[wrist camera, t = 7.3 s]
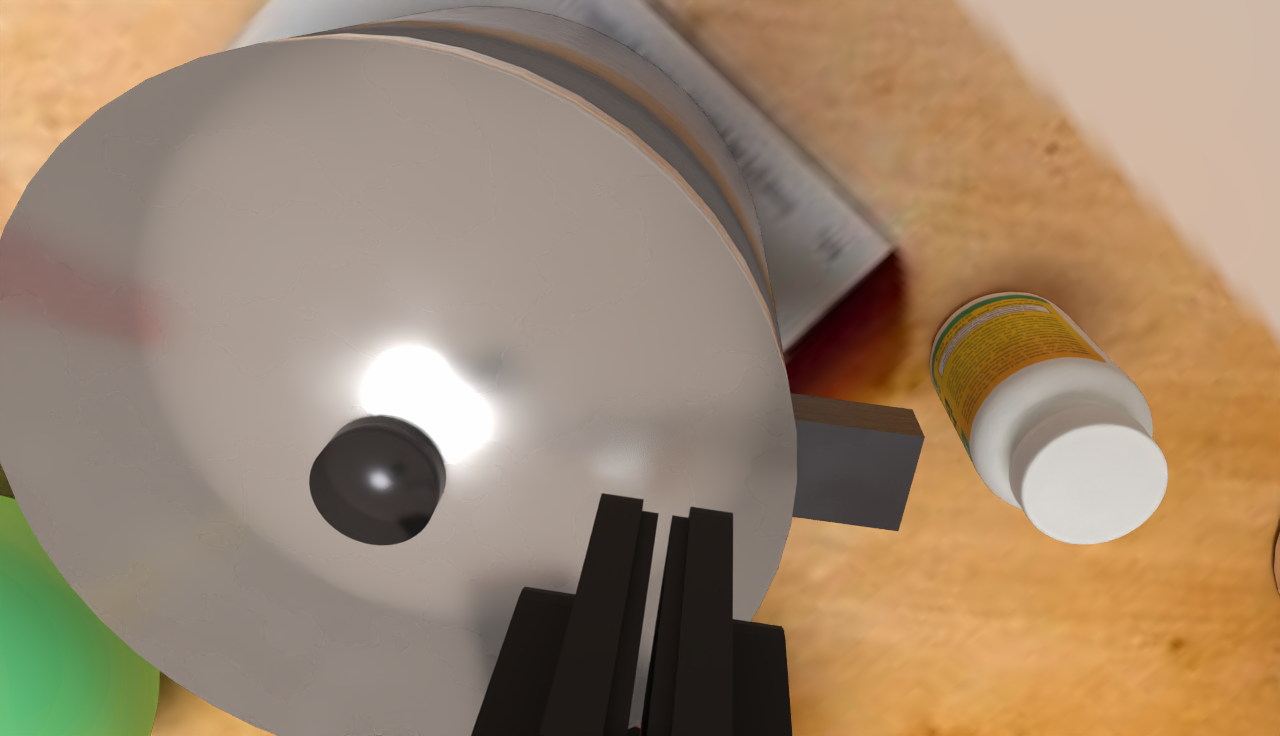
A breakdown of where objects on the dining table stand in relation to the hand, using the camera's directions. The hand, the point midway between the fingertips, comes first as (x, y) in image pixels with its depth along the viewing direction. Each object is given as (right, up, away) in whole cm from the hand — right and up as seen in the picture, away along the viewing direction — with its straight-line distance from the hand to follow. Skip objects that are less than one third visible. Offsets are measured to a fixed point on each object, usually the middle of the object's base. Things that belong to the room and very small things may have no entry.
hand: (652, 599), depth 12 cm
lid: (-6, +1, +12) cm, 14 cm away
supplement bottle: (+13, +4, +23) cm, 27 cm away
